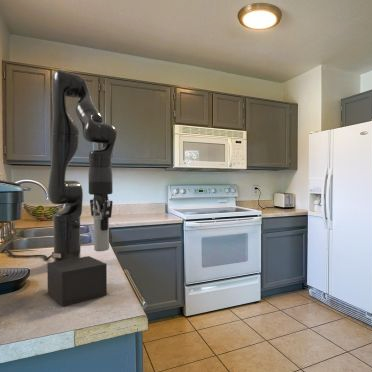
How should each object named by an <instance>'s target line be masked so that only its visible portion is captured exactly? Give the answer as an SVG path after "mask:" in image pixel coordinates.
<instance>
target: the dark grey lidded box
mask: <svg viewBox="0 0 372 372" xmlns="http://www.w3.org/2000/svg"><path fill="white" fill-rule="evenodd" d="M46 265H47V271H46V272H47V295H49V296H50V297H51V298H52V299H53V300H54V301H55V302H57V303H58V304H59V306H61V307H65V306H69V305H73V304H76V303H81V302H85V301H88V300H93V299H97V298H99V297H104V296H107V295H108V287H107V286H108V284H107V283H108V282H107V281H108V278H107V277H108V276H107V273H108V272H107V271H108V270H107V269H108V267H107V266H108V264H107V263H106V262H103V261H102V260H99V259H97V258H94V257H92V256H89V255H88V256H81V258H75V259H69V260H63V261H56V262H54V261H51V262H47V264H46Z"/></svg>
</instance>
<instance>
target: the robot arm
mask: <svg viewBox="0 0 372 372" xmlns="http://www.w3.org/2000/svg"><path fill="white" fill-rule="evenodd" d="M66 98H71V99H77V100H78V101H77V103H76V105H75V113H76V116H77V117H78V119H79V121H80V123H81V126H82V136H83V138H84V139H85V141H87V142H89V143H90V144H91V143H92V144H102V146H101V148H100V149H94V150H91V151H89V155H88V194H89V195H93V199H90V200H89V207H90V216H91V217H93V219H94V216H97V215H100V219H101V230H102V231H104V230H108V219H109V220H110V218H112V212H113V202H114V201H113V200H109V195H112V194H113V193H114V192H113V169H112V168H113V167H112V166H113V165H112V157H113V152H114V148H115V145H116V141H117V136H118V134H117V133H118V132H117V129H116V128H115V126H114V125H113V124H110V123H104V122H103V121H104V120H103V117H102V114H101V113H100V111H99V109H98V108H97V107H96V105H95V103H94V101H93V98H92V95H91V92H90V89H89V86H88V84H87V81H86V80H85V78H84V77H83V76H81V75H79V74H76V73H72V72H69V71H65V70H61V69H56V70H55V71H54V72H53V73H52V76H51V99H52V100H51V101H52V122H51V123H52V126H51V159H50V169H49V170H50V171H49V178H48V185H47V197H48V200H49V201H50V203H51V204H53V205H64V207H63V208H62V210H60V211H58V212H56V213H54V214H53V217H52V219H53V251H51V254H50V255H49V256H48V255H46V254H13V253H12V251H11V250H9V249H7V248H4V249H2V250H1V253H4V252H7V253H8V254H9V256H10V257H13V258H36V257H40V258H41V257H42V258H44V261H48V260H50V259H53V262H56V261H63V260H69V259H75V258H81V257H82V256H81V251H82V249H81V216H82V213H83V200H84V192H83V187H82V184H81V183H80V182H79V181H77V180H66V175H67V170H68V167H69V165H70V163H71V162H72V161H73V158H74V157H75V156H76V154H77V152H79V151H78V150H79V147H80V131H79V128H78V126H77V124H76V122H75V120H74V118H73V117H72V116H71V114H70V112H69V110H68V107H67V104H66Z"/></svg>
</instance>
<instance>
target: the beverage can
mask: <svg viewBox="0 0 372 372" xmlns="http://www.w3.org/2000/svg"><path fill="white" fill-rule="evenodd" d="M93 250H94V251H95V252H106V251H109V250H110V218H109V219H108V230H104V231H102V230H101V219H100V215H97V216H94V218H93Z"/></svg>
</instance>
